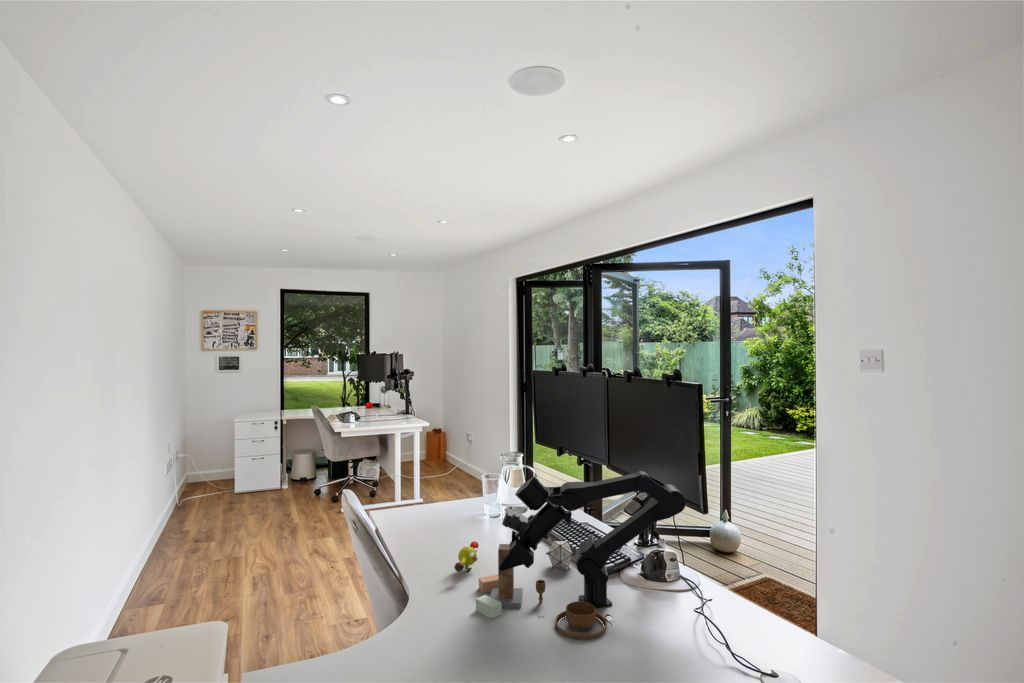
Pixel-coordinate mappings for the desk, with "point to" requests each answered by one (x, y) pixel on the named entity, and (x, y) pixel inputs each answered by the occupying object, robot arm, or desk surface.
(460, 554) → the toy figure
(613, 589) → the desk surface
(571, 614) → the place setting
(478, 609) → the sage brick
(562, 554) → the game die
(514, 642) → the desk surface
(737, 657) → the desk surface
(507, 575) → the walnut block
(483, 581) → the terracotta brick
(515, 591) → the slate coaster
